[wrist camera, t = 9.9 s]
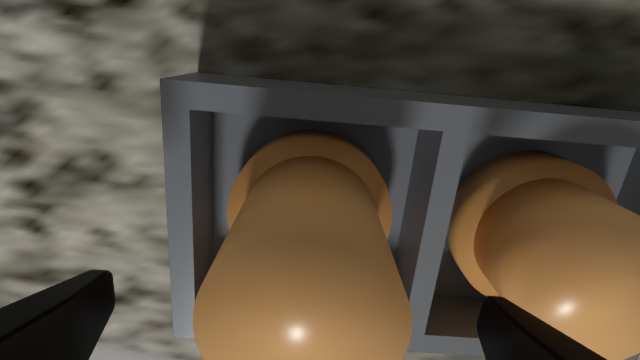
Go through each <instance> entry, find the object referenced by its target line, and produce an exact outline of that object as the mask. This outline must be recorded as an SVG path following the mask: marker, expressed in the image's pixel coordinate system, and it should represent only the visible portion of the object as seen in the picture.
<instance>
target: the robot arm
mask: <svg viewBox="0 0 640 360" xmlns="http://www.w3.org/2000/svg"><path fill="white" fill-rule="evenodd" d="M114 306H115V292H114V283H113V276H112V273H111V272H110V271H107V270H89V271H87V272H85V273H82V274H80V275H78V276H75V277H73V278H71V279H68V280H66V281H63V282H61V283H59V284H56V285H54V286H52V287H49V288H47V289H45V290H42V291H40V292H37V293H35V294H33V295H30V296H28V297H26V298H23V299H21V300H19V301H16V302H14V303H11V304H9V305H7V306H4V307H2V308H0V360H89V358H90V356H91V354H92V352H93V350H94V348H95V346H96V344H97V342H98V340H99V338H100V336H101V334H102V332H103V330H104V328H105V326H106V324H107V322H108V320H109V318H110V316H111V314H112V312H113V310H114ZM476 330H477V335H478V338H479V341H480V344H481V347H482V350H483V353H484V356H485V359H486V360H607V359H605V358H604V357H602V356H600V355H599V354H597V353H595V352H594V351H592V350H590V349H589V348H587V347H586V346H584V345H582V344H581V343H579V342H577V341H576V340H574V339H572V338H571V337H569V336H567V335H566V334H564V333H562V332H561V331H559V330H557V329H556V328H554V327H552V326H551V325H549V324H547V323H546V322H544V321H542V320H541V319H539V318H537V317H536V316H534V315H532V314H531V313H529V312H527V311H526V310H524V309H522V308H521V307H519V306H517V305H516V304H514V303H512V302H511V301H509V300H507V299H506V298H504V297H501V296H486V297H484V299H483V301H482V304H481V308H480V311H479V315H478V319H477V323H476Z"/></svg>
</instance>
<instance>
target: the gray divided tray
mask: <svg viewBox="0 0 640 360" xmlns="http://www.w3.org/2000/svg"><path fill="white" fill-rule="evenodd" d="M160 91H161V109H162V128H163V147H164V166H165V185H166V203H167V222H168V241H169V260H170V279H171V297H172V316H173V335H174V337H179V338H195V337H194V331H193V309H194V304H195V300H196V297H197V294H198V292H199V289H200V287H201V285H202V283H203V281H204V279H205V277H206V275H207V273H208V271H209V269H210V267H211V265H212V263H213V261H214V260H215V258H216V256H217V254H218V252H219V250H220V248H221V246H222V244H223V242H224V240H225V238H226V236H227V234H228V232H229V226H228V220H227V206H228V199H229V195H230V191H231V189H232V186H233V183H234V182H235V180H236V178H237V176H238V174H239V173H240V171H241V170H242V168H243V167H244V165H245V164H246V163H247V161H248V160H249V159H250V157H251V156H252V155H253V153H254V152H255V151H256V150H257V149H259V148H260V147H261V146H262V145H263V144H265V143H266V142H267V141H269V140H271V139H273V138H275V137H276V136H279V135H281V134H284V133H287V132H291V131H295V130H302V129H319V130H325V131H330V132H333V133H337V134H339V135H341V136H344V137H346V138H348V139H350V140H351V141H353V142H355V143H356V144H357V145H358V146H360V147H361V148H362V149H363V150H364V151H365V152H366V153H367V154H368V155H369V156H370V157H371V159H372V160H373V162H374V163H375V164H376V166H377V168H378V170H379V172H380V174H381V176H382V178H383V180H384V182H385V184H386V186H387V189H388V192H389V195H390V199H391V204H392V225H391V229H390V234H389V237H388V239H387V241H388V244H389V247H390V250H391V252H392V255H393V258H394V261H395V264H396V266H397V269H398V272H399V275H400V278H401V280H402V283H403V286H404V289H405V292H406V294H407V297H408V300H409V303H410V308H411V313H412V333H411V339H410V343H409V346H408V349H407V351H410V352H426V353H443V354H459V355H476V356H484V353H483V350H482V347H481V344H480V341H479V338H478V335H477V330H476V323H477V319H478V315H479V311H480V308H481V304H482V301H483V299H484V297H486V296H501V297H504V298H506V299H507V300H509V301H511V302H512V303H514V304H516V305H517V306H519V307H521V308H522V309H524V310H526V311H527V312H529V313H531V314H532V315H534V316H536V317H537V318H539V319H541V320H542V321H544V322H546V323H547V324H549V325H551V326H552V327H554V328H556V329H557V330H559V331H561V332H562V333H564V334H566V335H567V336H569V337H571V338H572V339H574V340H576V341H577V342H579V343H581V344H582V345H584V346H586V347H587V348H589V349H590V350H592V351H594V352H595V353H597V354H599V355H600V356H602V357H604V358H605V359H607V360H637V359H638V357H639V355H640V112H636V111H625V110H613V109H602V108H591V107H580V106H569V105H557V104H546V103H535V102H524V101H513V100H502V99H490V98H479V97H468V96H457V95H446V94H434V93H423V92H412V91H401V90H390V89H379V88H367V87H356V86H345V85H334V84H323V83H311V82H300V81H289V80H278V79H267V78H256V77H244V76H233V75H222V74H211V73H200V72H196V73H190V74H185V75H179V76H173V77H167V78H161V79H160Z"/></svg>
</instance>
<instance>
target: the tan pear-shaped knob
mask: <svg viewBox="0 0 640 360" xmlns="http://www.w3.org/2000/svg"><path fill="white" fill-rule="evenodd" d="M227 220H228V226H229V232H228V234H227V236H226V238H225V240H224V242H223V244H222V246H221V248H220V250H219V252H218V254H217V256H216V258H215V260H214V261H213V263H212V265H211V267H210V269H209V271H208V273H207V275H206V277H205V279H204V281H203V283H202V285H201V287H200V289H199V292H198V294H197V297H196V300H195V304H194V309H193V331H194V337H195V340H196V344H197V347H198V349H199V351H200V354H201V356H202V358H203V359H204V360H403V358H404V356H405V354H406V352H407V349H408V346H409V343H410V339H411V333H412V313H411V308H410V303H409V300H408V297H407V294H406V292H405V289H404V286H403V283H402V280H401V278H400V275H399V272H398V269H397V266H396V264H395V261H394V258H393V255H392V252H391V250H390V247H389V244H388V241H387V239H388V237H389V234H390V229H391V225H392V204H391V199H390V195H389V192H388V189H387V186H386V184H385V182H384V180H383V178H382V176H381V174H380V172H379V170H378V168H377V166H376V164H375V163H374V162H373V160H372V159H371V157H370V156H369V155H368V154H367V153H366V152H365V151H364V150H363V149H362V148H361V147H360V146H358V145H357V144H356V143H355V142H353V141H351V140H350V139H348V138H346V137H344V136H341V135H339V134H337V133H333V132H330V131H325V130H319V129H302V130H295V131H291V132H287V133H284V134H281V135H279V136H276V137H275V138H273V139H271V140H269V141H267V142H266V143H265V144H263V145H262V146H261V147H260V148H259V149H257V150H256V151H255V152H254V153H253V155H252V156H251V157H250V159H249V160H248V161H247V163H246V164H245V165H244V167H243V168H242V170H241V171H240V173H239V174H238V176H237V178H236V180H235V182H234V183H233V186H232V189H231V191H230V195H229V199H228V206H227Z"/></svg>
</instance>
